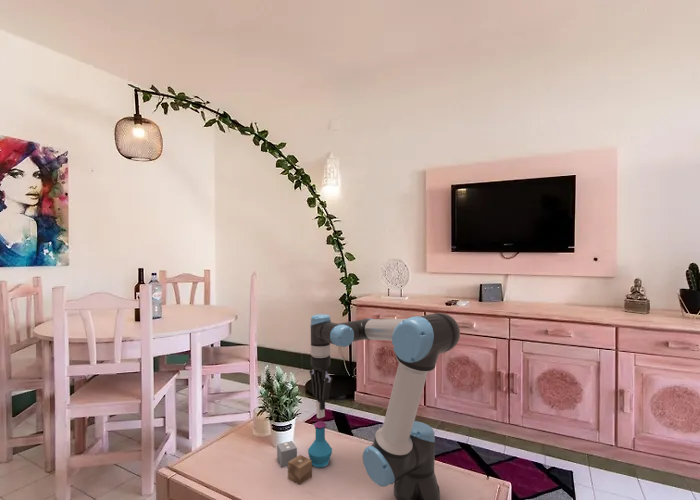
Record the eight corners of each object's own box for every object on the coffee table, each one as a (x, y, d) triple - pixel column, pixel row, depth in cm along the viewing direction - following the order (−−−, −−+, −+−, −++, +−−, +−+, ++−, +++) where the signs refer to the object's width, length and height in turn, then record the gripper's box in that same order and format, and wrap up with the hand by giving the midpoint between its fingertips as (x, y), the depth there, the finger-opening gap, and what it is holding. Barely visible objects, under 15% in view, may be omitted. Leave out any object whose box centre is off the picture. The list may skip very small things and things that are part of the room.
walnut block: (311, 477, 135) (311, 460, 135) (299, 485, 131) (299, 467, 130) (300, 471, 139) (300, 454, 139) (287, 478, 134) (288, 461, 134)
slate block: (296, 463, 144) (296, 447, 144) (281, 467, 141) (281, 451, 141) (291, 455, 149) (292, 440, 149) (277, 459, 146) (277, 443, 146)
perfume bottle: (333, 456, 149) (333, 418, 149) (330, 470, 139) (330, 429, 139) (310, 455, 150) (310, 417, 149) (305, 468, 140) (305, 428, 140)
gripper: (338, 357, 141) (338, 420, 141) (319, 350, 152) (319, 408, 152) (321, 361, 137) (321, 426, 137) (303, 353, 147) (303, 413, 147)
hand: (320, 416), depth 144 cm, fingers closed
